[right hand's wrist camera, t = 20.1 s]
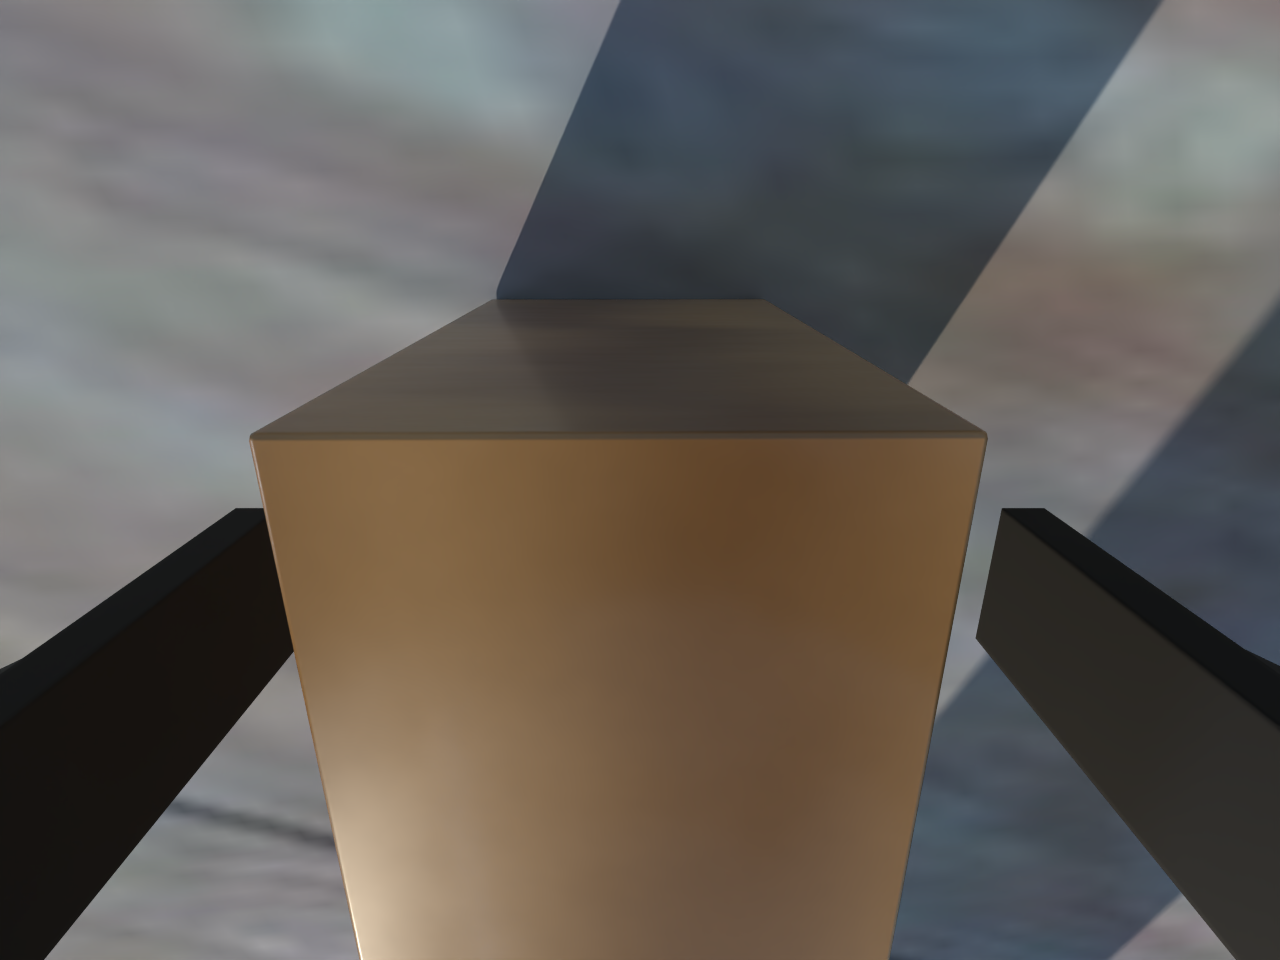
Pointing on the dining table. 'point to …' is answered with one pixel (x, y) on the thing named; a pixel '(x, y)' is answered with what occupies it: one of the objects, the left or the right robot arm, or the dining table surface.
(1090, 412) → the dining table surface
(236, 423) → the dining table surface
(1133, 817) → the right robot arm
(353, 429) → the wooden block
